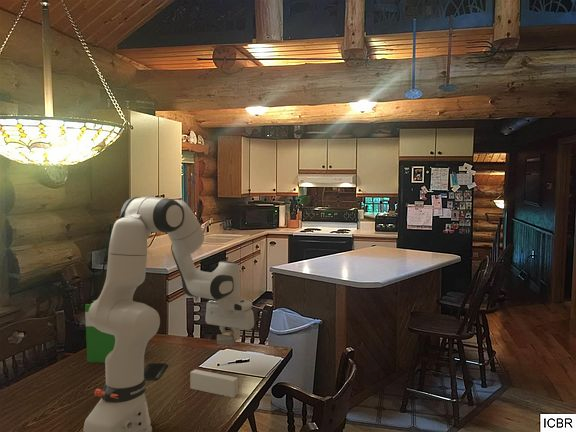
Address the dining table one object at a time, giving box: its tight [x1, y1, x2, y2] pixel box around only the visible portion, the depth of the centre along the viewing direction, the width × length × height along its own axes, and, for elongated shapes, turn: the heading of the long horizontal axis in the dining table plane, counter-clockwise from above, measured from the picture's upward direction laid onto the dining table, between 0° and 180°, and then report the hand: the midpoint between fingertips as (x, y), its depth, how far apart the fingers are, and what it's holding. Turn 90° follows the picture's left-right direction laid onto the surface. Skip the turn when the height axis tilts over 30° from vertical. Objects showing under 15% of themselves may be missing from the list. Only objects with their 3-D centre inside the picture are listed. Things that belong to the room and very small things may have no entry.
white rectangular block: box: [189, 368, 239, 399], centre depth 175 cm, size 9×18×6 cm, turn 66°
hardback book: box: [84, 299, 115, 363], centre depth 202 cm, size 18×7×24 cm, turn 85°
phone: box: [144, 362, 169, 382], centre depth 189 cm, size 8×1×15 cm
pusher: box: [216, 328, 241, 347], centre depth 188 cm, size 9×7×4 cm
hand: (229, 337), depth 187 cm, fingers closed on pusher, 3 cm apart
